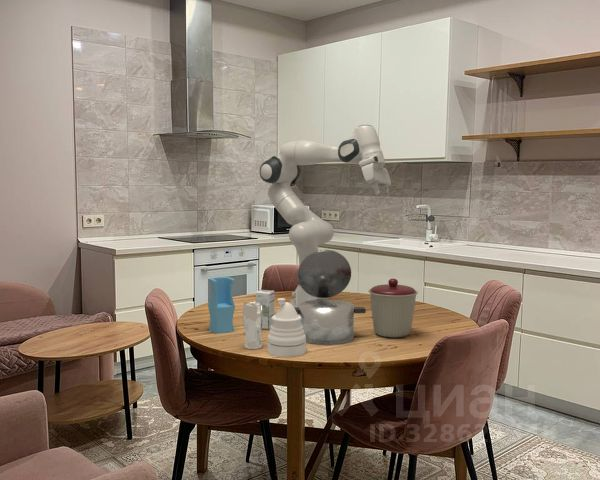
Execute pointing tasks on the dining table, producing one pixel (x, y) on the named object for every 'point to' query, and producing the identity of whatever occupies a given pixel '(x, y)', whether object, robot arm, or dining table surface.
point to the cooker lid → (324, 273)
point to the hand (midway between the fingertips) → (382, 195)
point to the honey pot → (286, 332)
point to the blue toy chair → (221, 305)
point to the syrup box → (266, 306)
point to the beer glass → (253, 324)
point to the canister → (392, 309)
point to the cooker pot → (328, 321)
